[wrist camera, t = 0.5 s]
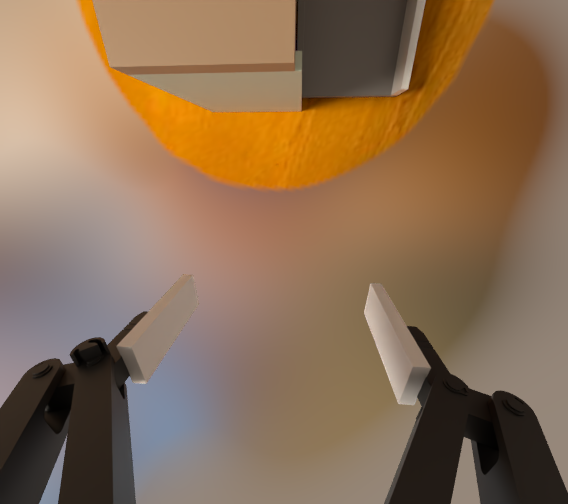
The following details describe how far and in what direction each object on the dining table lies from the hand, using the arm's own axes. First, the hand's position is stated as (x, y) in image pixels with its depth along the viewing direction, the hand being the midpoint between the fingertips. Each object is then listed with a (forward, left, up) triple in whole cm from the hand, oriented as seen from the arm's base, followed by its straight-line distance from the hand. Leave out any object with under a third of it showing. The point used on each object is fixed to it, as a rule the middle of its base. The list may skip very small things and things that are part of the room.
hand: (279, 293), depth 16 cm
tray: (-24, +8, -27) cm, 37 cm away
